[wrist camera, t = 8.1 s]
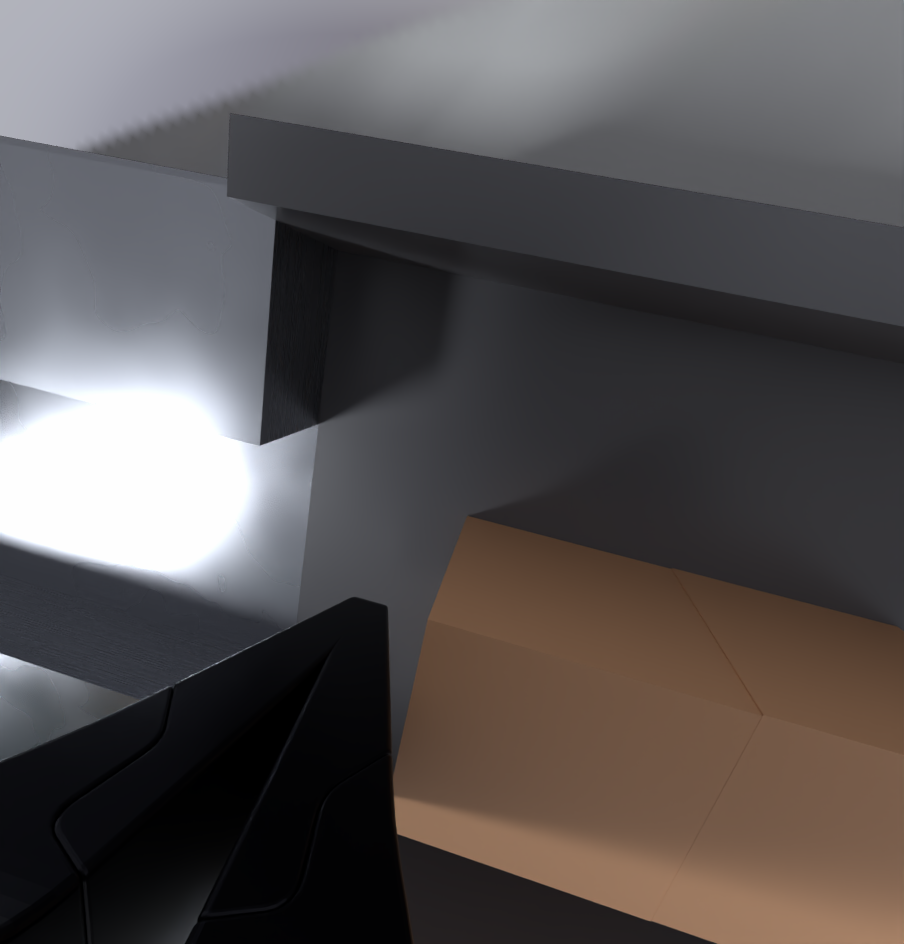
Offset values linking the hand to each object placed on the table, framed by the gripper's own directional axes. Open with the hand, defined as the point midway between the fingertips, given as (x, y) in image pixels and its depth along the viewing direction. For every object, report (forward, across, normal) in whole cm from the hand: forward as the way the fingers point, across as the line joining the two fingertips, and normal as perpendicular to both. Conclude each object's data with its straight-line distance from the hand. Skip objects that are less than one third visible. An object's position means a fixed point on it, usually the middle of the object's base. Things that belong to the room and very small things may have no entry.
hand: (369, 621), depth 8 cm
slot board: (+3, +10, 0) cm, 10 cm away
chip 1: (+1, -3, 0) cm, 4 cm away
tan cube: (+1, -7, 0) cm, 7 cm away
